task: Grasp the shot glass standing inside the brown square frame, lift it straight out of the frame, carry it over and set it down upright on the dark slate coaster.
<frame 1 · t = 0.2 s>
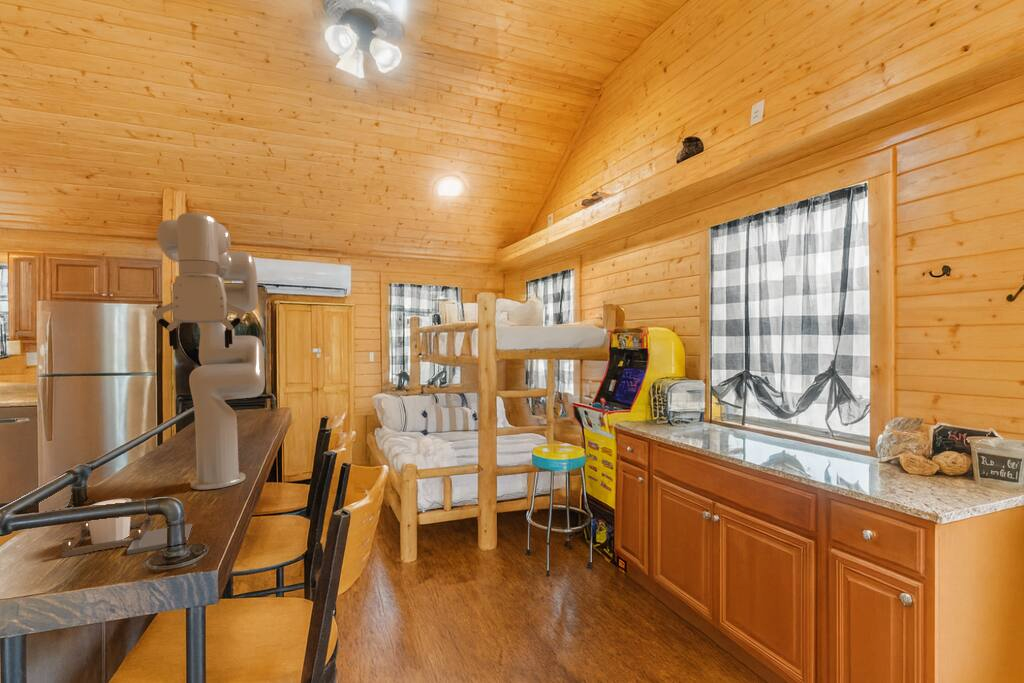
hand: (202, 348, 108), 36 cm above the countertop, tool pointing down, fingers open, 9 cm apart
shot glass: (110, 540, 95), resting in brown square frame
coaster: (162, 540, 94), on the countertop
brown square frame: (110, 539, 95), on the countertop
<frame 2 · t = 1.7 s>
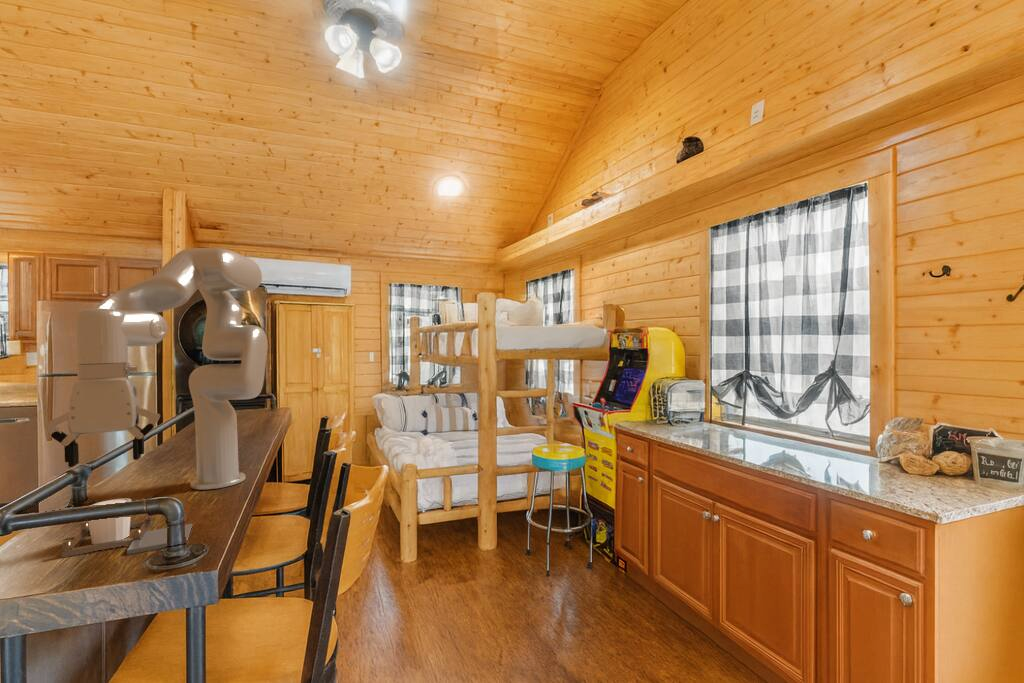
hand: (106, 461, 94), 15 cm above the countertop, tool pointing down, fingers open, 9 cm apart
nothing on the countertop moved.
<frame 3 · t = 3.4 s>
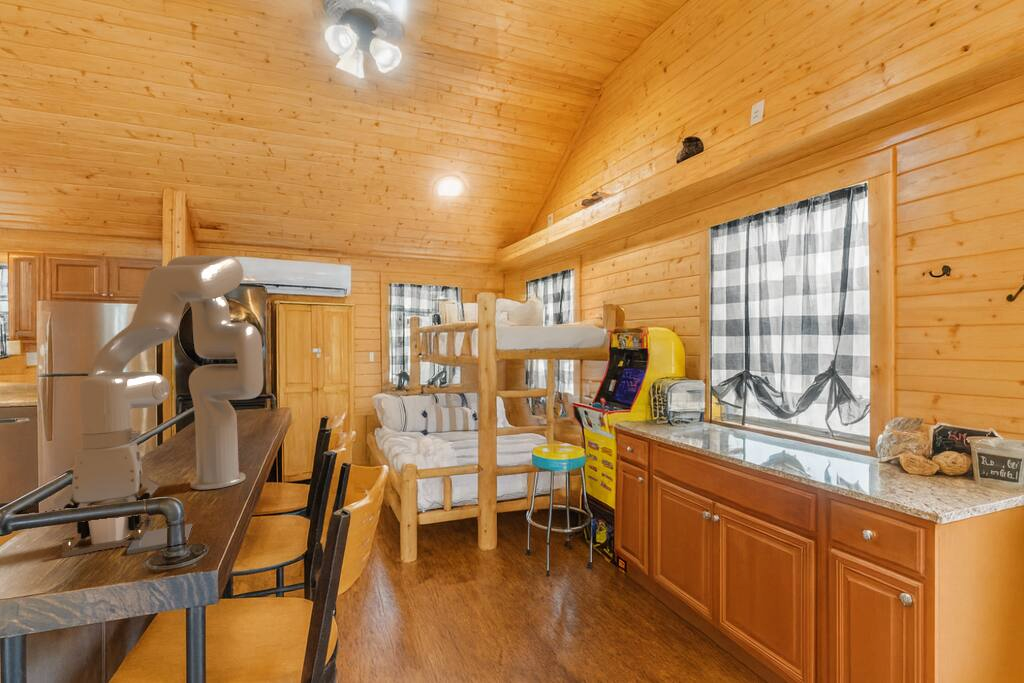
hand: (110, 531, 95), 2 cm above the countertop, tool pointing down, fingers closed on shot glass, 6 cm apart
shot glass: (110, 540, 95), resting in brown square frame, touching gripper
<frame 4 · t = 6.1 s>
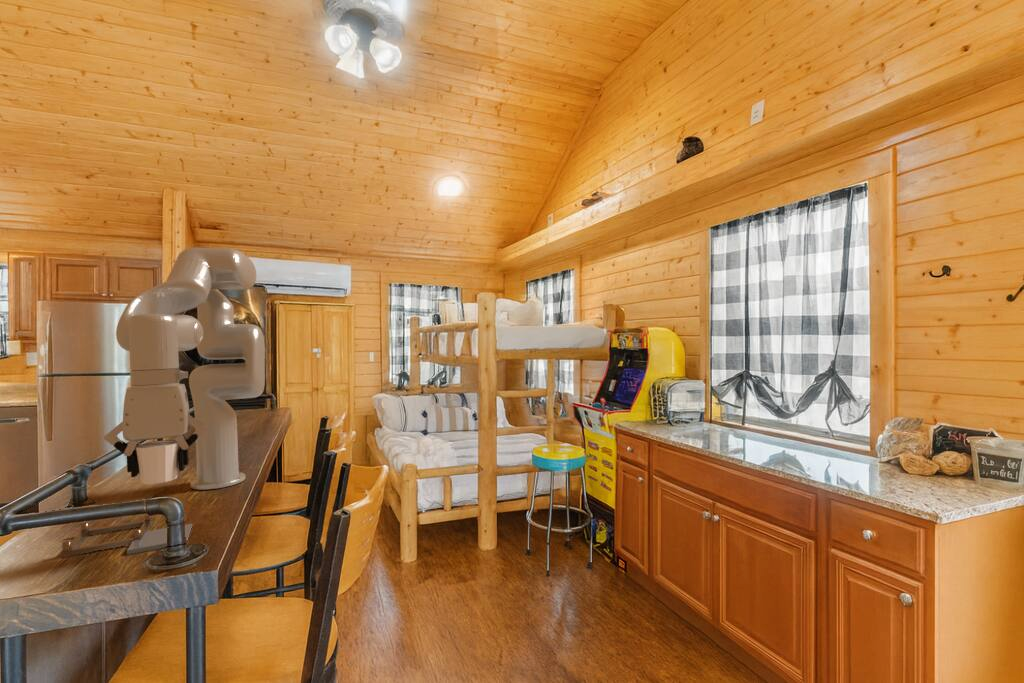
hand: (159, 471, 93), 13 cm above the countertop, tool pointing down, fingers closed on shot glass, 6 cm apart
shot glass: (159, 480, 93), point 11 cm above the countertop, touching gripper
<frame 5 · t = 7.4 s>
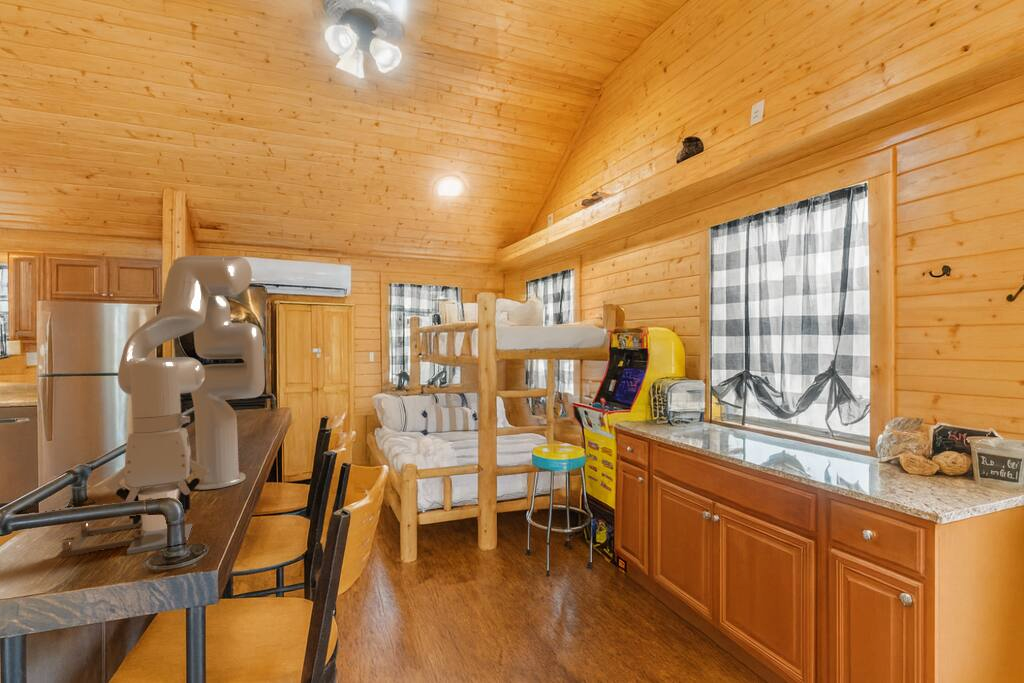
hand: (160, 517, 93), 4 cm above the countertop, tool pointing down, fingers closed on shot glass, 6 cm apart
shot glass: (161, 526, 93), point 3 cm above the countertop, touching gripper
when the fingers open (3 cm above the countertop, at t = 8.7 s): shot glass stays where it is, resting on coaster.
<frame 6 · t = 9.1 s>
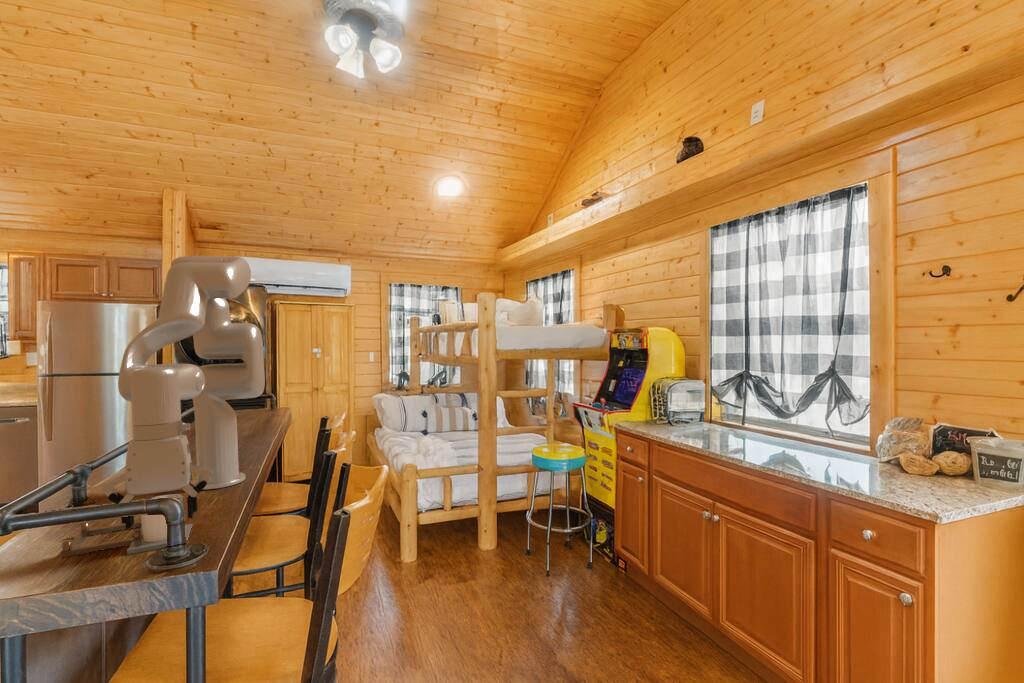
hand: (161, 521, 93), 4 cm above the countertop, tool pointing down, fingers open, 9 cm apart
shot glass: (162, 536, 94), point 1 cm above the countertop, touching coaster
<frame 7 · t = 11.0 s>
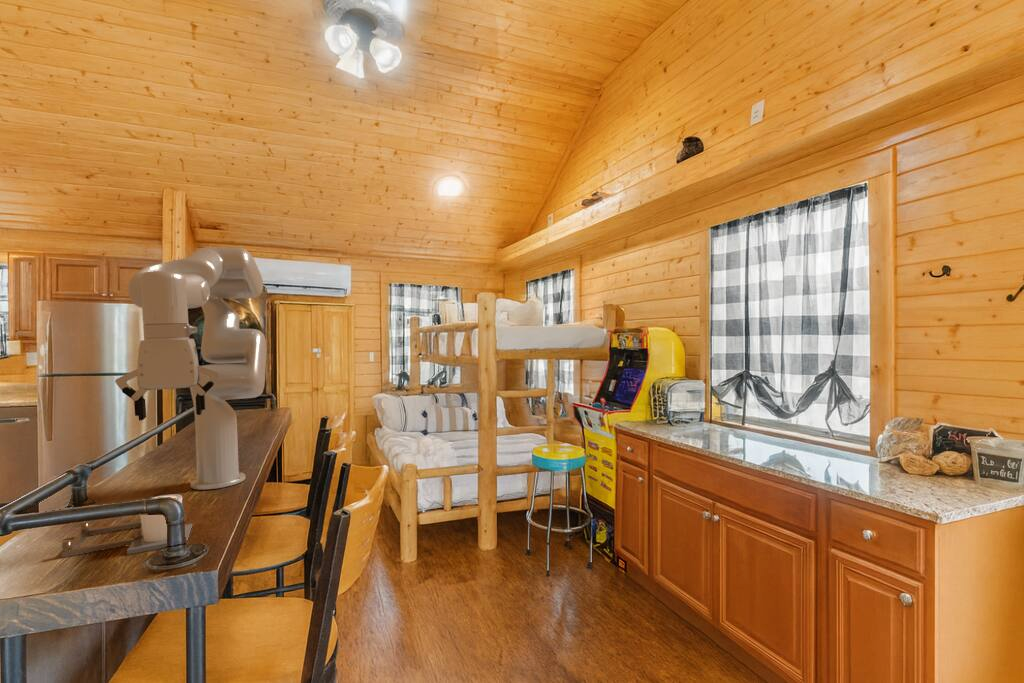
hand: (171, 416, 100), 23 cm above the countertop, tool pointing down, fingers open, 9 cm apart
nothing on the countertop moved.
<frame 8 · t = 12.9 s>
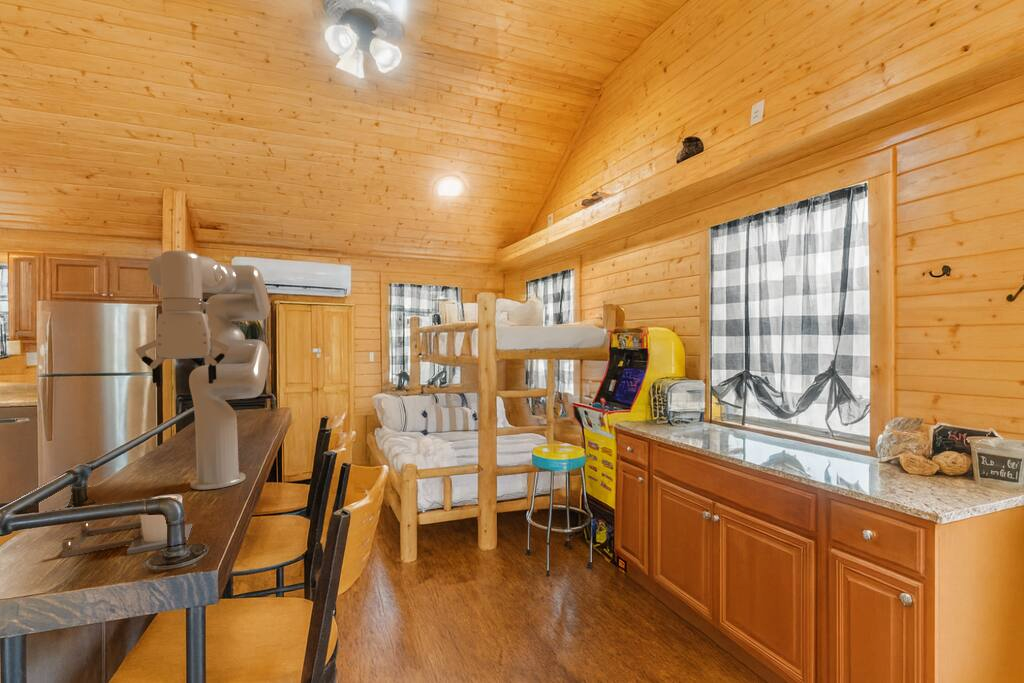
hand: (185, 384, 109), 28 cm above the countertop, tool pointing down, fingers open, 9 cm apart
nothing on the countertop moved.
at the end: shot glass inside the target area on the coaster (0.2 cm from its centre), point 0.6 cm above the coaster's base; shot glass tilted 0°; the gripper is holding nothing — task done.
